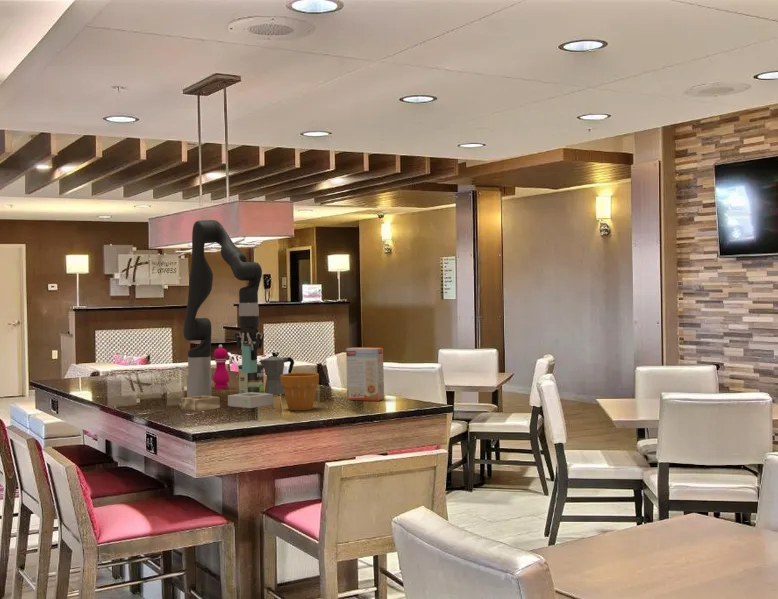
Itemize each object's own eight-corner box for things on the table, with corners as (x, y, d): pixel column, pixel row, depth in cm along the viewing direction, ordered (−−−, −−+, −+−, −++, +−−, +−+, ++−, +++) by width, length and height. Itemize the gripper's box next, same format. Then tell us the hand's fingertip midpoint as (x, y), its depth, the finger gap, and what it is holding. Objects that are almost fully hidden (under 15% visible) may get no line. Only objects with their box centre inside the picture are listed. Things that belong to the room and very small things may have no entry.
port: (227, 408, 344) (226, 395, 344) (251, 405, 353) (250, 392, 353) (249, 410, 336) (249, 397, 336) (273, 407, 346) (273, 393, 346)
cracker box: (384, 399, 364) (383, 347, 363) (378, 401, 358) (377, 348, 358) (353, 398, 370) (352, 346, 369) (346, 400, 364) (345, 347, 364)
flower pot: (303, 412, 329) (303, 376, 329) (273, 410, 337) (272, 375, 337) (326, 408, 341) (326, 373, 341) (296, 405, 349) (296, 372, 349)
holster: (181, 411, 337) (180, 398, 337) (201, 408, 345) (201, 395, 345) (199, 413, 331) (198, 399, 331) (219, 410, 339) (219, 396, 339)
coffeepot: (262, 396, 379) (261, 353, 379) (256, 394, 388) (255, 352, 388) (298, 394, 385) (297, 352, 385) (291, 392, 394) (290, 350, 394)
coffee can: (267, 398, 374) (267, 364, 374) (259, 401, 364) (258, 366, 364) (244, 398, 376) (243, 363, 376) (234, 401, 366) (234, 366, 366)
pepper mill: (232, 387, 415) (231, 344, 415) (224, 389, 409) (223, 345, 408) (218, 387, 418) (217, 343, 417) (210, 389, 411) (209, 344, 411)
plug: (242, 372, 344) (241, 344, 344) (249, 371, 348) (249, 343, 347) (249, 373, 342) (249, 344, 342) (257, 372, 345) (256, 343, 345)
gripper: (228, 315, 346) (229, 360, 346) (254, 315, 337) (255, 361, 337) (242, 314, 352) (243, 358, 352) (269, 314, 343) (270, 360, 343)
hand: (249, 359), depth 345 cm, fingers closed on plug, 4 cm apart
